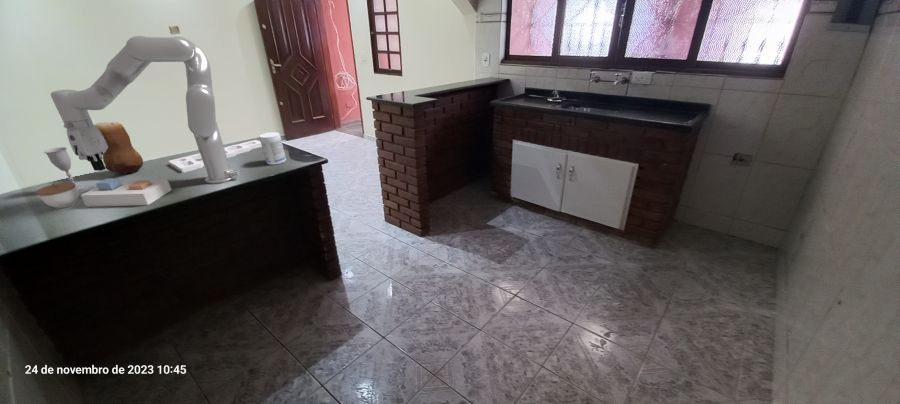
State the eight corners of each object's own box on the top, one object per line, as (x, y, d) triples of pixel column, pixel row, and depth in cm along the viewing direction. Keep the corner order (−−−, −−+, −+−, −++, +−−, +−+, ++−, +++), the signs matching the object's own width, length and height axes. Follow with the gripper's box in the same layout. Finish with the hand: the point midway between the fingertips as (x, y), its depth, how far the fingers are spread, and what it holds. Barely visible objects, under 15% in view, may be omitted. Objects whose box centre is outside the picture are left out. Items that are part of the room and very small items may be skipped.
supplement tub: (287, 158, 188) (281, 131, 182) (284, 164, 180) (277, 136, 173) (268, 159, 187) (261, 132, 180) (264, 166, 178) (256, 137, 172)
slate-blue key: (122, 184, 146) (118, 178, 145) (112, 189, 142) (108, 183, 141) (109, 185, 146) (106, 178, 145) (99, 190, 142) (96, 183, 140)
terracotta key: (152, 187, 147) (149, 180, 146) (143, 192, 143) (140, 185, 142) (140, 187, 147) (137, 180, 146) (131, 192, 143) (128, 185, 141)
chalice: (90, 186, 157) (70, 148, 149) (72, 193, 151) (50, 153, 143) (80, 184, 159) (60, 146, 151) (61, 190, 154) (39, 151, 145)
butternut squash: (137, 166, 180) (115, 117, 168) (152, 170, 175) (131, 120, 163) (104, 175, 169) (78, 124, 157) (119, 180, 164) (94, 127, 152)
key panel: (171, 190, 153) (167, 179, 151) (148, 204, 141) (143, 193, 138) (115, 191, 152) (110, 180, 150) (86, 206, 140) (80, 195, 138)
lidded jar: (46, 205, 141) (33, 184, 137) (82, 196, 148) (71, 176, 144) (47, 214, 135) (34, 191, 130) (85, 204, 142) (73, 183, 138)
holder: (256, 144, 213) (255, 139, 212) (272, 149, 203) (270, 145, 202) (170, 165, 181) (168, 160, 180) (183, 173, 171) (181, 168, 170)
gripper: (71, 129, 125) (93, 176, 134) (106, 119, 139) (124, 163, 147) (49, 129, 125) (73, 177, 133) (86, 119, 139) (106, 163, 147)
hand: (100, 169), depth 140 cm, fingers closed
